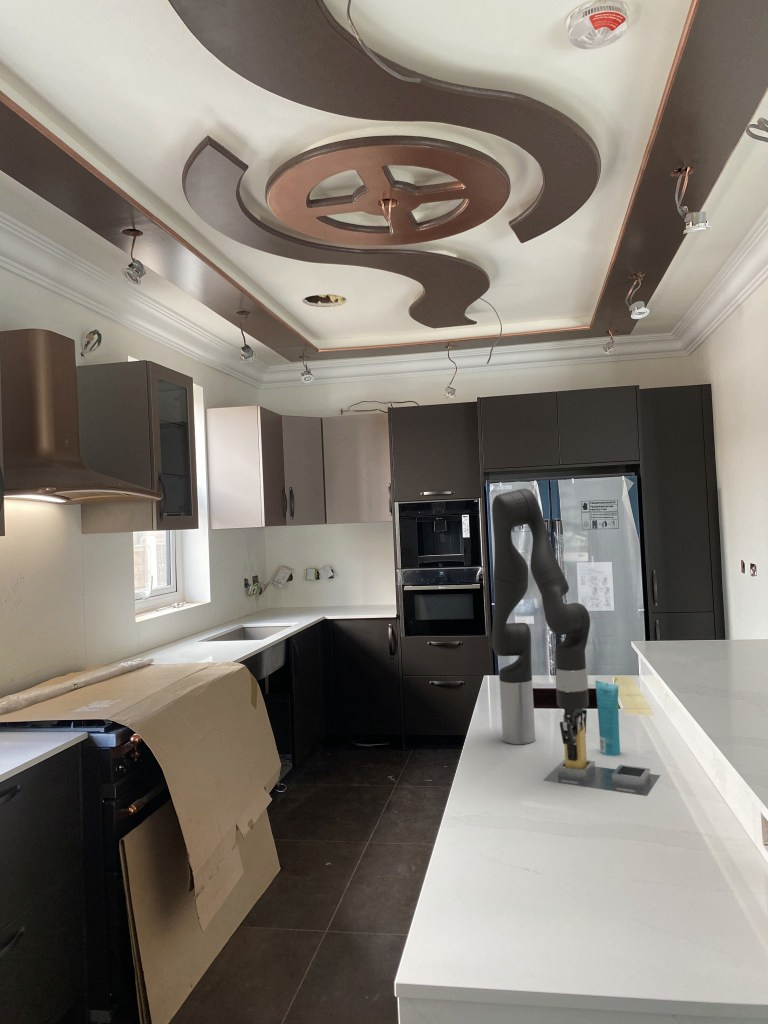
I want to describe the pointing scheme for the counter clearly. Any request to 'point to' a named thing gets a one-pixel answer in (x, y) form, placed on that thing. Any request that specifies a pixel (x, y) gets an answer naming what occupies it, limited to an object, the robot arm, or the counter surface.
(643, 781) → the panel
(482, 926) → the counter surface
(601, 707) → the tube
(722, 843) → the counter surface
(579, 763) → the plug
